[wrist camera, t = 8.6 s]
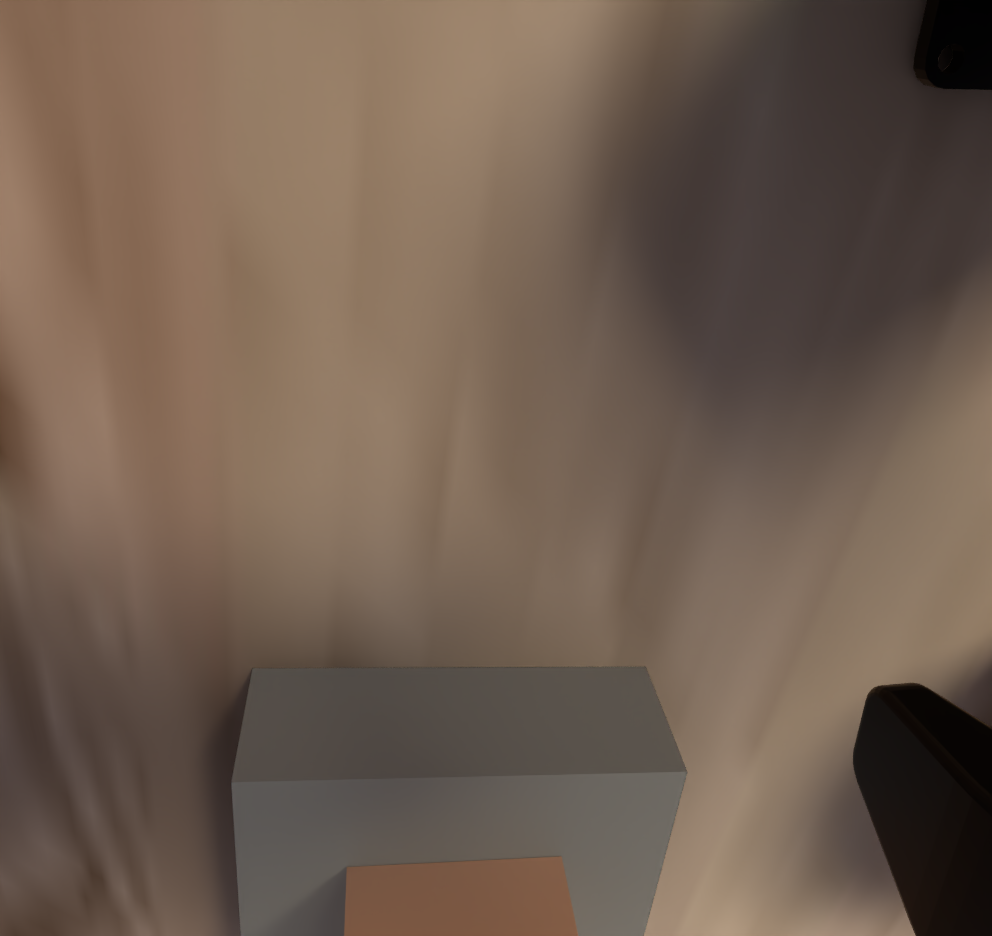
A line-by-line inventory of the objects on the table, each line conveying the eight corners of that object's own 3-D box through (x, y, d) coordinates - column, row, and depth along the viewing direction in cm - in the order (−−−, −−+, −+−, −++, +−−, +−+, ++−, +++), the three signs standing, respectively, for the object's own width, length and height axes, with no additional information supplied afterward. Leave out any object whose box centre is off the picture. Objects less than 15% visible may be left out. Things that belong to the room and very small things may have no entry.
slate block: (641, 656, 24) (687, 771, 20) (588, 903, 28) (618, 1032, 25) (254, 657, 22) (231, 782, 19) (265, 917, 27) (248, 1056, 23)
